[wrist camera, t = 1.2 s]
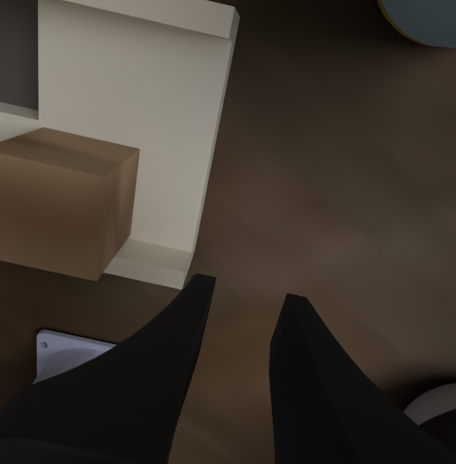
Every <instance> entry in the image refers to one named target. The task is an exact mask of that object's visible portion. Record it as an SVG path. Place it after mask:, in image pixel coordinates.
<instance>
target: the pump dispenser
mask: <svg viewBox="0 0 456 464" xmlns="http://www.w3.org/2000/svg"><path fill="white" fill-rule="evenodd" d="M403 412H404V413H405V414H406V415H407V416H408V417H409V418H410V419H412V420H413V421H414V422H415V423H416V424H417V425H419V426H420V427H421V428H422V429H424V430H425V431H426V432H427V433H428V434H430V435H431V436H432V437H433V438H435V439H436V440H437V441H439V442H440V443H441V444H443V445H444V446H445V447H447V448H448V449H449V450H450V451H452V452H453V453H454V454H456V383H453V384H447V385H443V386H439V387H437V388H434V389H431V390H429V391H427V392H425V393H423V394H422V395H420V396H419V397H417V398H416V399H415V400H414V401H412V402H411V403H410V404H409V405H408V406H407V408H406V409H405V410H404V411H403Z"/></svg>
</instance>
